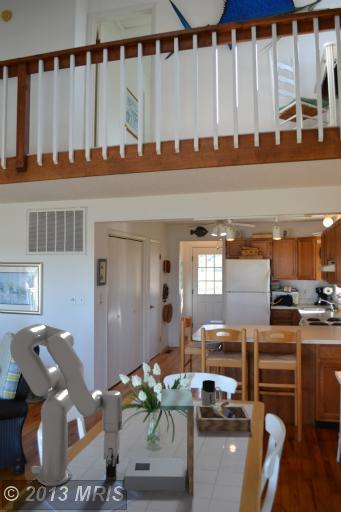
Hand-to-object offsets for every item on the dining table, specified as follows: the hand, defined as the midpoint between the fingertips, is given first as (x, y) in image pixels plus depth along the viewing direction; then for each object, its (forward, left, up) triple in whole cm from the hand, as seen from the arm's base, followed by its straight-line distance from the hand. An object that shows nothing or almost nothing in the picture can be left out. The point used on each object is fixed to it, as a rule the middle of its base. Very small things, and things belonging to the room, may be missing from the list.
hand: (112, 470), depth 149 cm
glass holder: (+46, +79, -4) cm, 92 cm away
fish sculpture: (+52, +55, -4) cm, 76 cm away
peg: (-1, 0, -4) cm, 4 cm away
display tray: (+49, +56, -4) cm, 75 cm away
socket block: (+16, 0, -4) cm, 17 cm away
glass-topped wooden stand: (+24, 0, -4) cm, 25 cm away
